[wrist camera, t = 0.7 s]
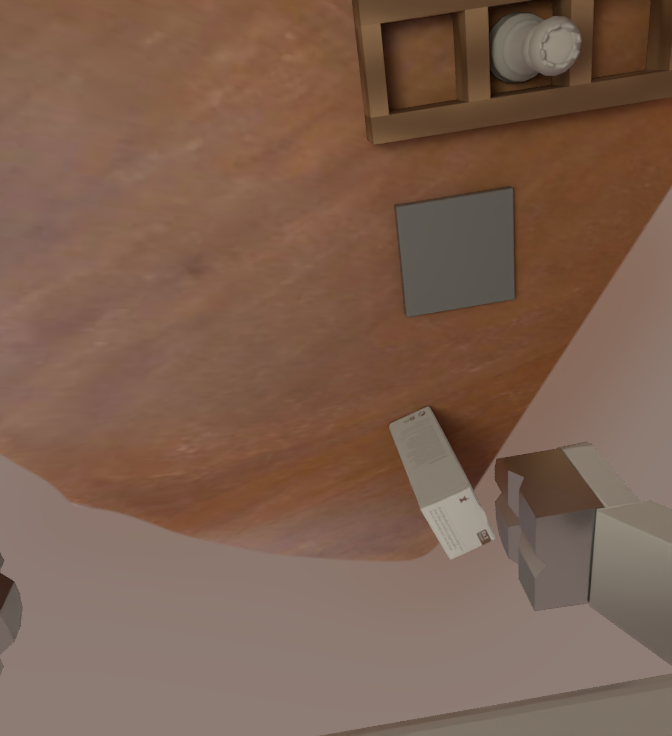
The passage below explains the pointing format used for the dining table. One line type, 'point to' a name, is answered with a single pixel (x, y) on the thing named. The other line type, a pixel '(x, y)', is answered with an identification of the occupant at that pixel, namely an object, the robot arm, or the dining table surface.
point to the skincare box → (440, 484)
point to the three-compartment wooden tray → (471, 45)
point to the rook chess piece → (532, 46)
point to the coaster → (456, 251)
